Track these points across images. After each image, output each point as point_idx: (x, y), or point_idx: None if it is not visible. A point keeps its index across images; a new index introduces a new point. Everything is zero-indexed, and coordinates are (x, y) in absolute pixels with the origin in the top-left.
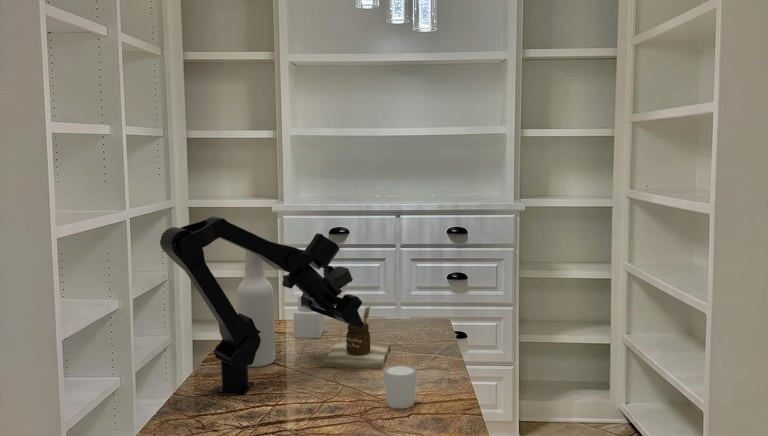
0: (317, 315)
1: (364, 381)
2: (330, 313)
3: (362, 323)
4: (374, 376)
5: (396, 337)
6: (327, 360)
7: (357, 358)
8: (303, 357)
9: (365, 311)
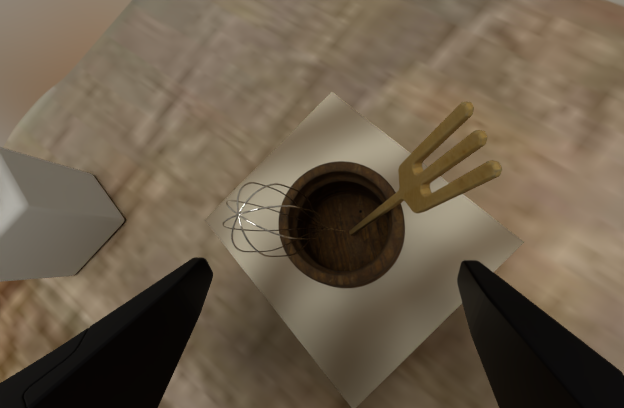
0: (31, 213)
1: None
2: (157, 367)
3: (492, 276)
4: (572, 315)
5: (265, 42)
6: (357, 392)
7: (410, 282)
8: (224, 377)
9: (466, 191)
